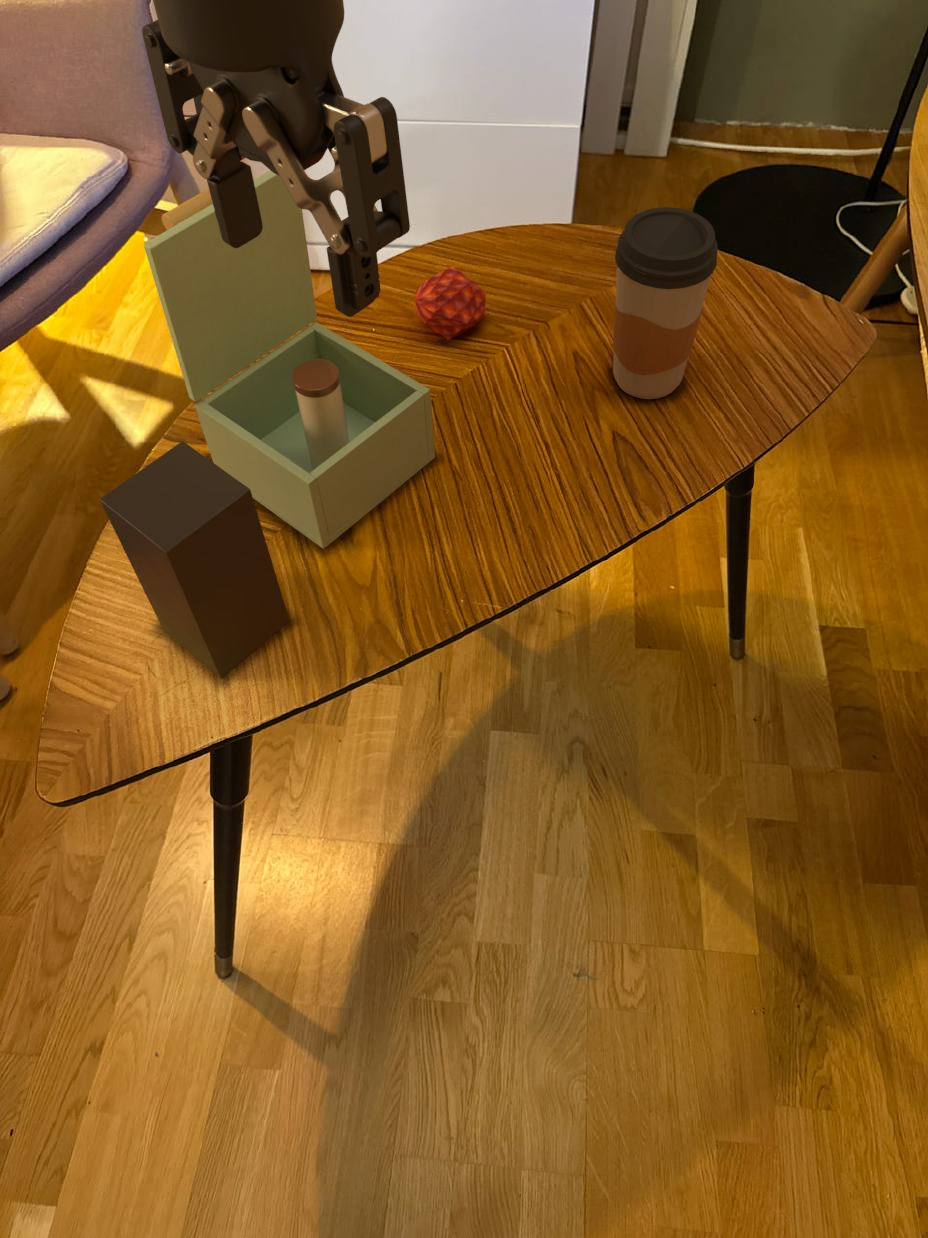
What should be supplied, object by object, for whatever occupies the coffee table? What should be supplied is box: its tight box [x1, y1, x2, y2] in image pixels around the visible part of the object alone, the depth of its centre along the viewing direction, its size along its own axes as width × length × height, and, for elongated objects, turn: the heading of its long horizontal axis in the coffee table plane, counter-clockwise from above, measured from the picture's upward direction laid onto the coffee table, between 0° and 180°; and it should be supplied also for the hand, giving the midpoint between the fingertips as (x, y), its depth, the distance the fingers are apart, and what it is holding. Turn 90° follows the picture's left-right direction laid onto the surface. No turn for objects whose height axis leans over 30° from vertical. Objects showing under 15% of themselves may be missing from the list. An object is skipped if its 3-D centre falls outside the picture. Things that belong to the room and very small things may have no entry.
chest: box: [193, 321, 436, 550], centre depth 83 cm, size 14×14×8 cm
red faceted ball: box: [414, 265, 487, 341], centre depth 95 cm, size 6×7×8 cm
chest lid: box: [143, 169, 318, 403], centre depth 77 cm, size 14×14×5 cm
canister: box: [292, 359, 350, 470], centre depth 81 cm, size 4×4×10 cm
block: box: [99, 440, 291, 680], centre depth 71 cm, size 7×7×15 cm
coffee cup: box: [612, 206, 719, 400], centre depth 86 cm, size 8×8×15 cm
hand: (299, 272), depth 50 cm, fingers open, 8 cm apart
